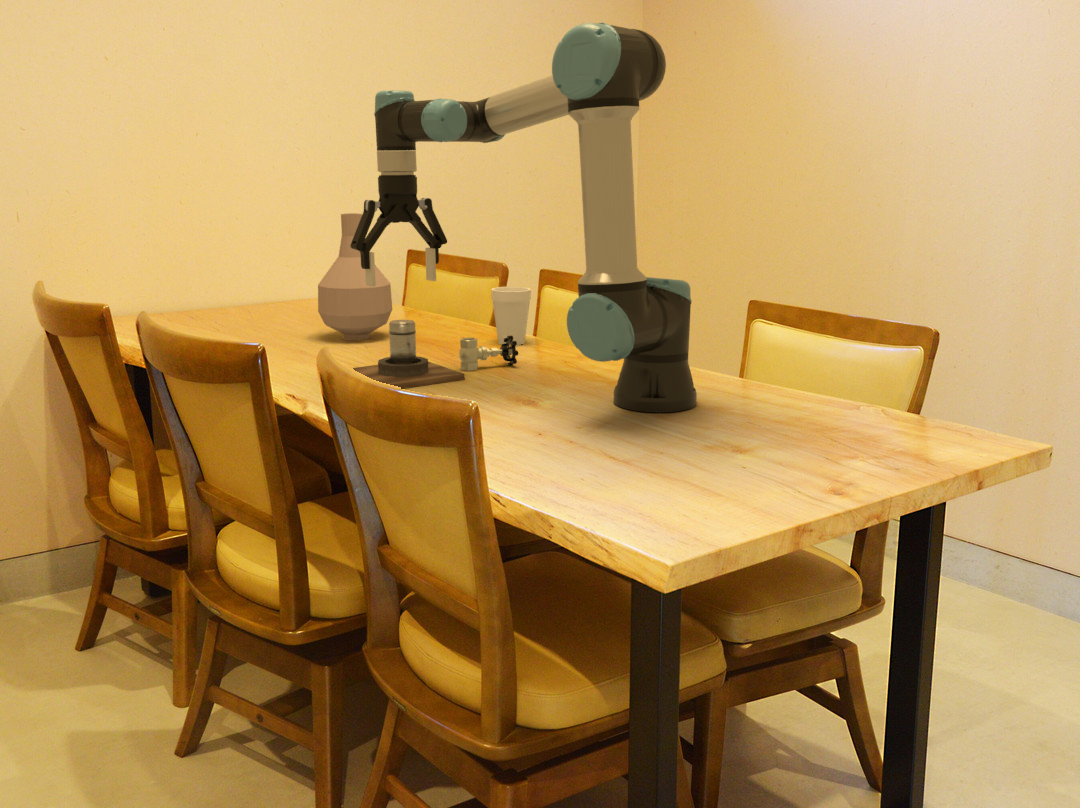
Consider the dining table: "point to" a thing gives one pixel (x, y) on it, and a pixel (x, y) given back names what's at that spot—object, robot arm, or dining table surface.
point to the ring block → (410, 373)
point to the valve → (485, 352)
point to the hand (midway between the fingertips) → (401, 283)
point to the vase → (353, 291)
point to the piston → (402, 342)
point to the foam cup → (511, 312)
